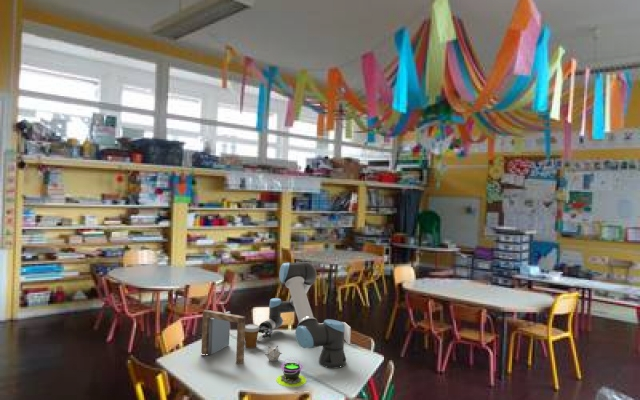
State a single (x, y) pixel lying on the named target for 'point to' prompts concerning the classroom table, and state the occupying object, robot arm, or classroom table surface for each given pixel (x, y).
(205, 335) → the door frame
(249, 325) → the disposable coffee cup
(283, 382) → the toy cauldron
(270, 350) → the game die
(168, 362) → the classroom table surface
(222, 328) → the door
